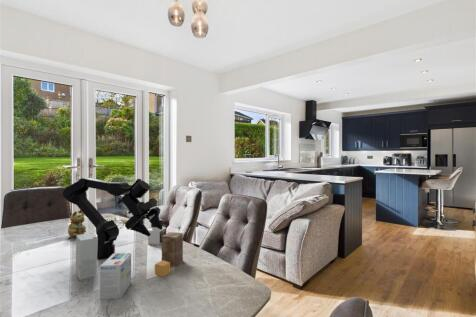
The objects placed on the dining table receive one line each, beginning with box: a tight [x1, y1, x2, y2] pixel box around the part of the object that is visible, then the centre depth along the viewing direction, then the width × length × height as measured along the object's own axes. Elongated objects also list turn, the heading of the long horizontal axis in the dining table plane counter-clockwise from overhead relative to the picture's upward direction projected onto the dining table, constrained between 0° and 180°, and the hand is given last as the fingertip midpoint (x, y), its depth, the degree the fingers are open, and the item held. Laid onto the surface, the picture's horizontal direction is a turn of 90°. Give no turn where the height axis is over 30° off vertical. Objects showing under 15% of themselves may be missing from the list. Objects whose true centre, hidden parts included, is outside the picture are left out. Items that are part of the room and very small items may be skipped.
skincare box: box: [74, 232, 98, 281], centre depth 98 cm, size 8×6×15 cm
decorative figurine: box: [67, 209, 87, 238], centre depth 147 cm, size 10×8×15 cm
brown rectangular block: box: [161, 231, 184, 268], centre depth 109 cm, size 6×6×12 cm
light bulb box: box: [99, 252, 132, 300], centre depth 86 cm, size 11×7×11 cm, turn 5°
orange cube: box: [154, 259, 171, 277], centre depth 99 cm, size 4×4×4 cm
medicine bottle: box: [147, 218, 167, 246], centre depth 136 cm, size 7×7×12 cm
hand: (155, 232), depth 111 cm, fingers open, 9 cm apart
